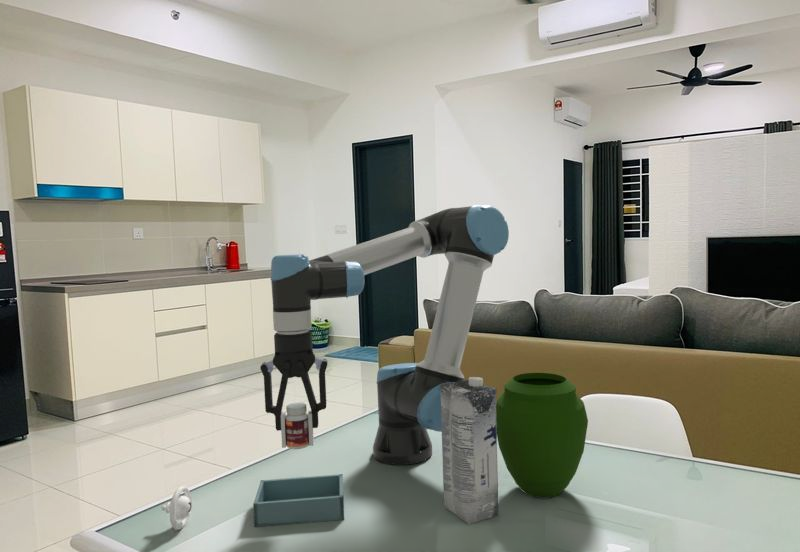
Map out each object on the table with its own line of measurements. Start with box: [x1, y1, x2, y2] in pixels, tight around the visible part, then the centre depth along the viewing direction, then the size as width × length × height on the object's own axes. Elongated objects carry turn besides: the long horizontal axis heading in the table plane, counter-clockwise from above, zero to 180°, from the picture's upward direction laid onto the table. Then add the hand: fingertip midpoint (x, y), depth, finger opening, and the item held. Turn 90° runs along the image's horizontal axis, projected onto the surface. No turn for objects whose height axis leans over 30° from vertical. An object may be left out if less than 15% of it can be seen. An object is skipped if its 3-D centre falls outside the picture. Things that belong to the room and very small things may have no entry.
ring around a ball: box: [161, 485, 193, 531], centre depth 115 cm, size 8×6×8 cm
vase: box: [496, 372, 589, 499], centre depth 125 cm, size 20×20×24 cm
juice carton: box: [440, 376, 499, 525], centre depth 117 cm, size 9×10×27 cm
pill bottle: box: [285, 402, 309, 450], centre depth 120 cm, size 5×5×8 cm
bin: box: [252, 473, 345, 528], centre depth 121 cm, size 17×11×5 cm, turn 96°
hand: (298, 444), depth 120 cm, fingers closed on pill bottle, 5 cm apart
